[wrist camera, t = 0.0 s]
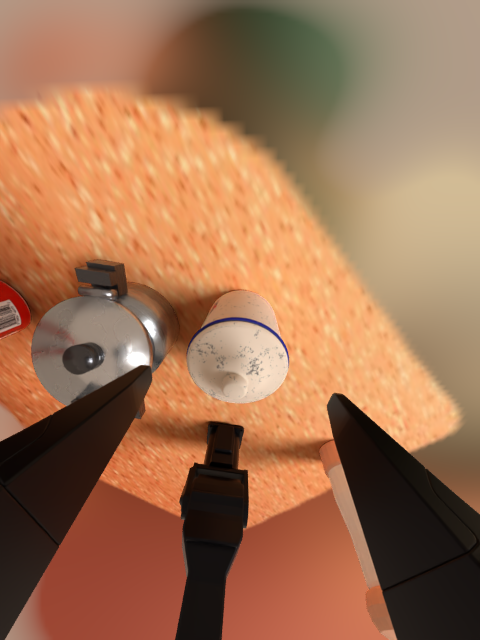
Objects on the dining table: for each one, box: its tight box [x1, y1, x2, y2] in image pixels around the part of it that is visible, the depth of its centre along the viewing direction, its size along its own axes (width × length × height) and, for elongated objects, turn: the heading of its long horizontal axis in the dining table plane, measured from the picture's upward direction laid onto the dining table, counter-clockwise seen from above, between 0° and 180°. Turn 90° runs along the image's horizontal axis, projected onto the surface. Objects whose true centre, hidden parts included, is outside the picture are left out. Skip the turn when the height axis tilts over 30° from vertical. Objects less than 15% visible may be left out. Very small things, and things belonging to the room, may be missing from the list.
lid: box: [31, 285, 153, 406], centre depth 17 cm, size 15×11×2 cm
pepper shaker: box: [319, 440, 397, 640], centre depth 26 cm, size 7×7×19 cm
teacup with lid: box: [187, 290, 289, 403], centre depth 19 cm, size 12×9×12 cm
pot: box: [75, 260, 179, 419], centre depth 23 cm, size 22×11×6 cm, turn 172°
